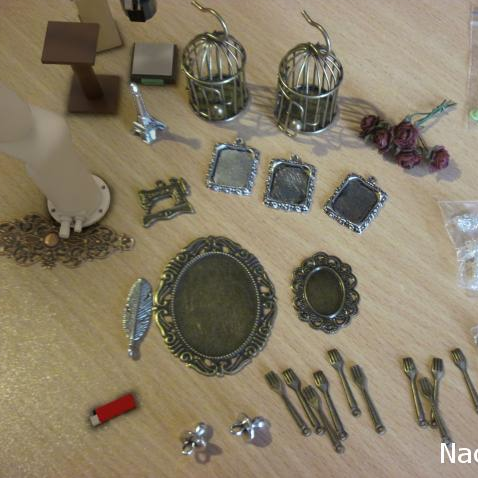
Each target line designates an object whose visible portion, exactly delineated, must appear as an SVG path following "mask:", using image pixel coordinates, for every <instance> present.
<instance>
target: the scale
mask: <svg viewBox="0 0 478 478" xmlns="http://www.w3.org/2000/svg"><path fill="white" fill-rule="evenodd" d="M132 47H133V48H132V55H131V56H132V57H131V63H130V66H131V67H130V73H129V74H130V75H129V78H130V81H131V83H141V85H149V86H164V85H165V84H168V85H169V84H170V85H171V84H172V85H175V84H176V76H177V61H178V45H177V44H174V43H155V42H133V46H132ZM133 81H134V82H133Z"/></svg>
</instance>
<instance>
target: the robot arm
mask: <svg viewBox="0 0 478 478" xmlns="http://www.w3.org/2000/svg"><path fill="white" fill-rule="evenodd" d="M124 3H125V10H127V13H128V16H129V17H128V20H129V22H131V23H146V22H147V20H146V17H145V13H144V9H143V6H141V3H140V0H136V3H137V4H133V3H132V0H124ZM71 131H72V130H71V127H70V125H69V122H68V121H67V120H66V119H65V118H64V117H63V116H62V115H60V114H59V113H57V112H56V111H54V110H51V109H49V108H47V107H45V106H42V105H38V104H35V103H33V102H29V101H26V99H25V98H24V97H23V96H22V94H21V93H19V92H18V91H17V90H16V89H14V88H13V87H11V86H10V85H9V84H7V83H5V82H3V81H1V80H0V153H1V154H4V155H6V156H9V157H11V158H14V159H17V160H20V161H22V162H23V165H24V170H25V172H26V174H27V175H28V176H29V178H30V179H31V180H32V181H33V182H34V184H35V185H36V186H37V187H38V189H39V190H40V191H41V192H42V194H43V195H44V196H45V197H46V198H47V201H46V202H47V209H48V213H49V214H50V215H51V217H52V218H53V219H54V220H55V221H56V222H57V223H59V224H60V227H59V233H58V237H60V238H63V239H69V238H70V235H71V228H72V229H73V231H74V232H75V233H81V232H82V229H83V228H86V227H89V226H92V225H94V224H96V223H98V222H99V221H100V220H101V219H102V218H103V217H104V216H105V215H106V213H108V210H109V208H110V206H111V205H110V204H111V192H110V190H109V187H108V185H107V184H106V183H105V181H104V180H103V179H101V177H99V176H97V175H95V174H93V173H91V171H90V169H89V168H88V166H87V165H86V163H85V162H84V160H83V158H82V156H81V155H80V153H79V151H78V149H77V147H76V146H75V143H74V141H73V137H72V132H71Z"/></svg>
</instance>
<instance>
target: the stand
mask: <svg viewBox="0 0 478 478" xmlns="http://www.w3.org/2000/svg"><path fill="white" fill-rule="evenodd" d="M99 30H100V25H99V23H82V22H80V21H79V22H78V21H58V20H56V21H55V20H48V21H47V23H46V30H45V36H44V41H43V46H42V50H41V51H42V52H41V58H40V62H41V64H42V65H57V66H58V65H59V66H61V65H62V66H63V65H64V66H70V68H71V70H72V72H73V74H72V81H71V83H72V84H71V88H70V94H69V96H70V97H69V102H68V107H67V111H68V114H91V115H93V114H96V115H116V106H117V98H118V89H119V82H120V77H119V75H107V74H96V73H95V70H94V68H93V67H95V66H96V58H97V53H98V52H97V44H98V37H99Z"/></svg>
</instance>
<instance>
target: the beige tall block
mask: <svg viewBox="0 0 478 478" xmlns="http://www.w3.org/2000/svg"><path fill="white" fill-rule="evenodd" d="M69 1H70V2H74V5H75V7H76V9H77V11H76V15H77V17H78V20H79V22H82V23H99V25H100V30H99V37H98V44H97V52H96V53H99V52H102V51H106V50H110V49H114V48H117V47H120V46H122V45H123V43H122V40H121V37H120V34H119V31H118V28H117V26H116V22H115V20H114V19H115V18H114V16H113V14H112V11H111V8H110V5H109V2H108V0H69Z"/></svg>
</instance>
